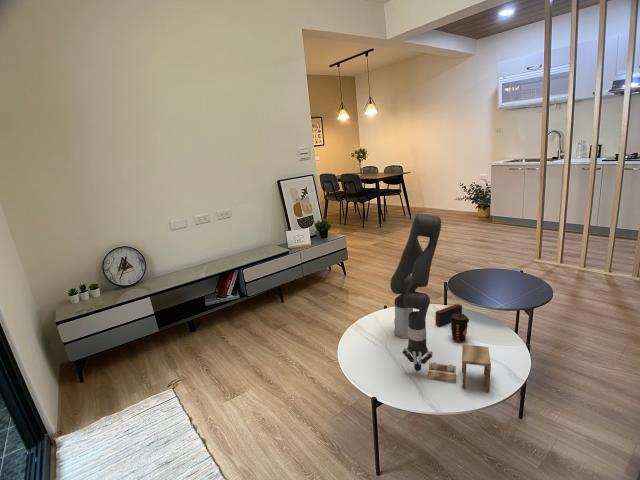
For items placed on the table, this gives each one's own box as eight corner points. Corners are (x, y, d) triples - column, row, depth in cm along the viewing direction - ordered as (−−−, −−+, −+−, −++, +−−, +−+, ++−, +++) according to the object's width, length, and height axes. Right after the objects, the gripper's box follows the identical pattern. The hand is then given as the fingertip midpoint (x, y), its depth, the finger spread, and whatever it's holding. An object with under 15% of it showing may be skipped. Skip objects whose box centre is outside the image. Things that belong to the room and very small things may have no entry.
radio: (457, 316, 200) (458, 292, 195) (461, 319, 197) (462, 294, 193) (432, 326, 192) (432, 301, 188) (436, 328, 190) (436, 303, 185)
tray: (428, 378, 152) (428, 367, 151) (429, 370, 158) (429, 359, 156) (455, 382, 148) (456, 371, 147) (455, 373, 154) (456, 362, 152)
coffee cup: (465, 334, 182) (466, 312, 178) (470, 344, 174) (471, 320, 170) (448, 335, 183) (448, 312, 179) (452, 344, 175) (452, 320, 171)
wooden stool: (462, 388, 145) (463, 360, 141) (462, 370, 155) (462, 344, 152) (489, 392, 141) (490, 364, 137) (487, 373, 152) (488, 347, 148)
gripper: (433, 332, 152) (434, 367, 157) (402, 329, 157) (403, 362, 162) (432, 342, 146) (433, 377, 150) (400, 338, 150) (401, 373, 155)
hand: (417, 370), depth 156 cm, fingers closed
